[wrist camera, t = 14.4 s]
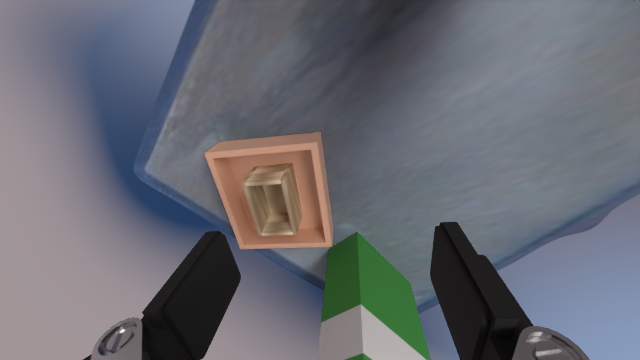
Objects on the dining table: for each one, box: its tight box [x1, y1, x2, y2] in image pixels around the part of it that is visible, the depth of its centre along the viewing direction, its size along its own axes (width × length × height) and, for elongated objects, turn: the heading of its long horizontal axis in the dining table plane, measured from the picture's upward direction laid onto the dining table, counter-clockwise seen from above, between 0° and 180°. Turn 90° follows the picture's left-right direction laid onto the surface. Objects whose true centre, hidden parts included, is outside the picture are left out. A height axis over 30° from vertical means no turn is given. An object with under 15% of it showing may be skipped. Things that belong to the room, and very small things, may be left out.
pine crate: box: [242, 163, 303, 236], centre depth 39 cm, size 6×10×6 cm, turn 8°
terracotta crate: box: [204, 132, 334, 249], centre depth 41 cm, size 17×19×5 cm
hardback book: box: [318, 232, 431, 360], centre depth 39 cm, size 18×7×24 cm, turn 43°
